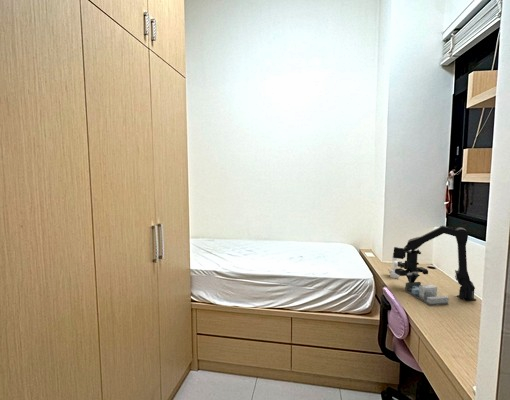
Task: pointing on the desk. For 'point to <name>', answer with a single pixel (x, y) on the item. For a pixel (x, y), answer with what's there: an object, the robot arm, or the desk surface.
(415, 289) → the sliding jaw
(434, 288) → the steel block
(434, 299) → the vise base
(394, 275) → the figurine
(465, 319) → the desk surface
